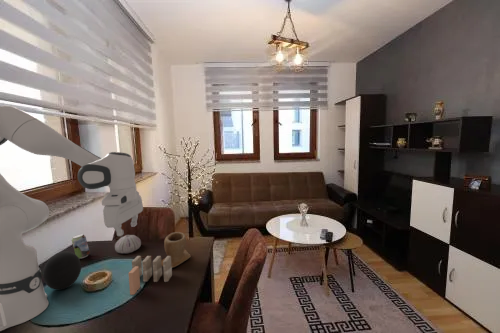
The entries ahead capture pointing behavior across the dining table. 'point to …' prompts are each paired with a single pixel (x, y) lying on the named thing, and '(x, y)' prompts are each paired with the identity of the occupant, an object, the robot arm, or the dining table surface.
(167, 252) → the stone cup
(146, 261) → the domino
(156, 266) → the domino
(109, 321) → the dining table surface
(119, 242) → the sea urchin shell
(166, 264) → the domino
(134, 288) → the domino
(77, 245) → the beverage can
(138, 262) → the domino
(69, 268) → the decorative egg
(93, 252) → the dining table surface
